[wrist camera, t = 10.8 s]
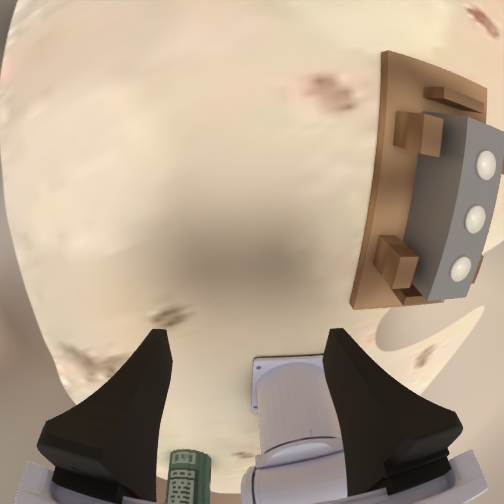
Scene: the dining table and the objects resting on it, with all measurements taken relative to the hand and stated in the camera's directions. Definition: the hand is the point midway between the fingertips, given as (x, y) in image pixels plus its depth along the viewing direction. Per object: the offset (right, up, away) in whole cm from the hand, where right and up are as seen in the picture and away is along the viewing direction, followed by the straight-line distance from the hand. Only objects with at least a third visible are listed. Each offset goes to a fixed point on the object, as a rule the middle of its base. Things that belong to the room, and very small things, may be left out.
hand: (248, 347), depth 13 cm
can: (-9, -28, +25) cm, 38 cm away
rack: (+14, +9, +7) cm, 18 cm away
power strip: (+14, +8, +6) cm, 17 cm away
